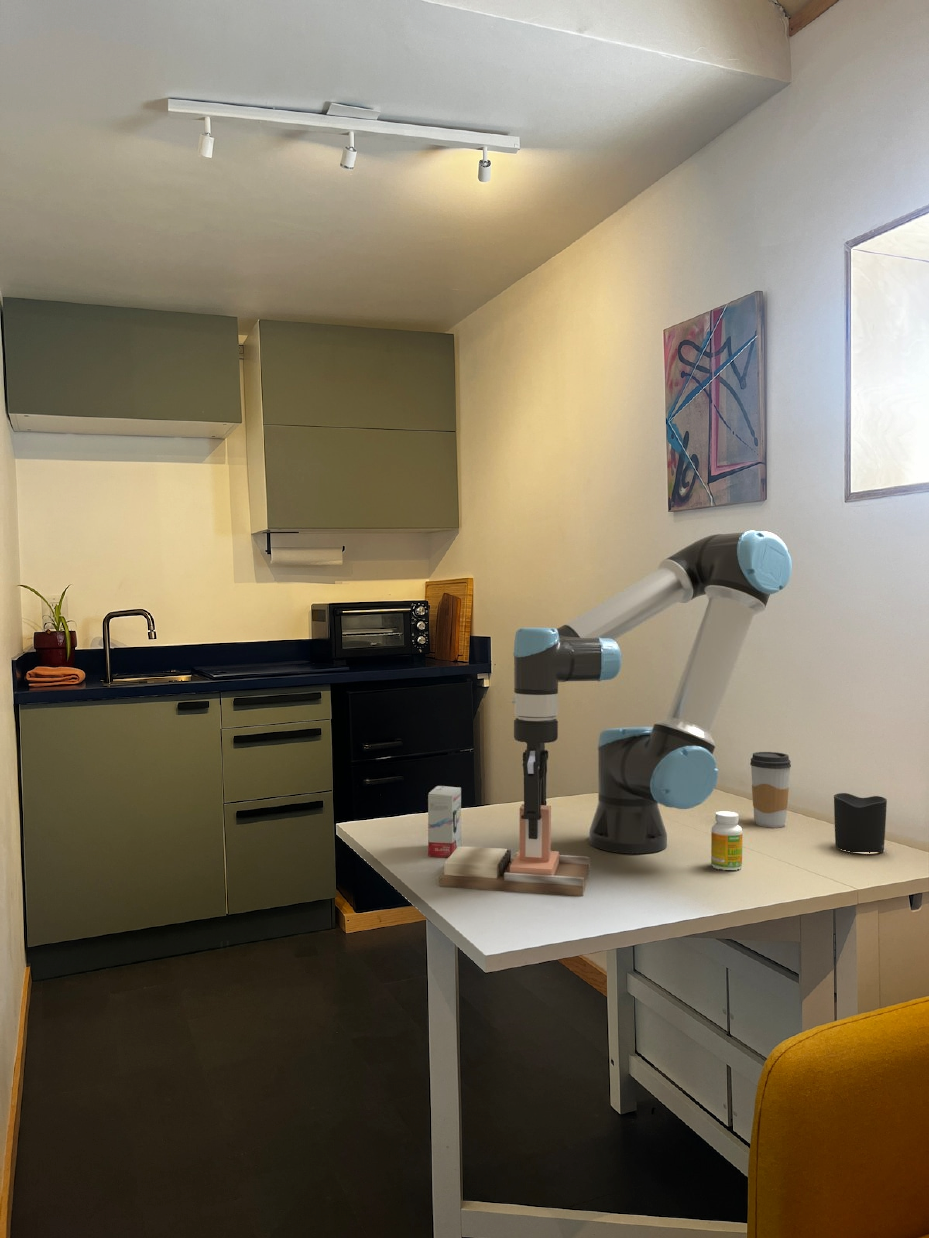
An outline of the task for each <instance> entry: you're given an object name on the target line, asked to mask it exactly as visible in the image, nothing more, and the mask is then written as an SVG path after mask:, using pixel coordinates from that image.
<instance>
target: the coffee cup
mask: <svg viewBox="0 0 929 1238" xmlns="http://www.w3.org/2000/svg"><path fill="white" fill-rule="evenodd" d="M791 762H792V761H791V760H790V757H789V755H788V754H787V753H783V752H778V751H777V752H776V751H757V752H753V753H752V757H750V763H749V764H750V769H751V792H752V807H753V821H754V822H755V825H757V826H759V827H763V828H772V829H774V828H777V829H778V828H779V829H780V828H783V827H785V824H786V823H787V812H788V802H789V801H788V800H789V789H790V787H789V785H790V784H789V783H790V775H791V774H790V773H791V771H790V770H791V767H792V765H791Z"/></svg>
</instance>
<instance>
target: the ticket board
mask: <svg viewBox="0 0 929 1238" xmlns="http://www.w3.org/2000/svg"><path fill="white" fill-rule="evenodd" d="M517 853H518V851H516V853H515V856H516V855H517ZM511 855H512V850H511V849H508V848H499V847H498V848H496V847H479V846H463V845H461V846H458V847H457V848H456V850H455V851H454V852H453V853H452V854H451V856H450V857H447V859H446V860H445V862H444V864H443V865H444V866H443V867H444V868H443V869H444V871H443V872H442V873H441V875H440V876H439V880H438V881H439V884H438V885H439V887H446V888H448V887H450V888H460V889H461V888H463V889H475V890H476V889H477V890H490V891H492V890H493V891H502V892H503V891H505V892H520V893H533V894H534V893H535V894H548V895H560V896H562V895H563V896H575V897H576V896H578V897H583V896H584V892H585V888H586V886H587V881H588V877H589V874H590V856H584V855H583V856H582V855H566V854H559V864H558V866H557V869H556V871H555V874H554V875H538V874H523V873H510V866H511V864H512V862H513V860H514V858H515V857H512V856H511Z"/></svg>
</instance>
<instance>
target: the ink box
mask: <svg viewBox="0 0 929 1238" xmlns="http://www.w3.org/2000/svg"><path fill="white" fill-rule="evenodd" d="M427 797H428V798H427V803H428V804H427V807H428V809H427V810H428V813H427V814H428V815H427V816H428V817H427V820H428V821H427V828H428V830H427V831H428V833H427V834H428V835H427V837H428V838H427V840H428V843H427V844H428V845H427V849H428V852H427V854H428V855H427V856H428V857H434V858H435V857H436V858H437V857H438V858H439V857H440V858H449V857H450V856H451V854H452V853H453V852H454V851H455V850H456V848H457V847H458V846H462V809H461V808H462V788H461V787H460V786H459V787H455V786H447V785H446V786H445V785H437V786H435V787H434V788H433V789H431V790H430V792H428V795H427Z"/></svg>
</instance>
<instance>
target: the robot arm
mask: <svg viewBox="0 0 929 1238" xmlns="http://www.w3.org/2000/svg"><path fill="white" fill-rule="evenodd" d="M788 551H789V549H788V547H787V545H786V544H785V542H784V541H783V540H782V539H781V538H780V537H779V536H778V535H776V534H774V533H772V532H771V531H770V532H769V531H762V530H761V531H760V530H759V531H757V530H747V531H743V532H732V533H719V534H718V533H717V534H712V535H708V536H705V537H703V538H700V539H698V540H696V541H694V542H693V543H691V544H689V545H687V546H686V547H684V548H682V549H680V550H679V551H677V552H676V553H673V554H672V555H671V556H668V557H667V558H665V559H663V560H662V561H661V562H659V564H658V568H657V569H656V570H655V571H653V572H651V573H650V574H648V575H647V576H645V577H643V578H642V579H639V580H638V581H637V582H634V583H633V584H631V585H630V586H628V587H626V588H625V589H623V590H620V591H619V592H618V593H616V594H615V595H612V596H611V597H609V598H608V599H606V600H605V601H602V602H601V603H599V604H597V605H596V606H594V607H592V608H591V609H589V610H587V611H585V612H584V613H582V614H580V615H579V616H577V617H575V618H573V619H572V620H571V621H569V622H567V623H565V624H564V625H562V626H559V627H557V628H555V627H521V628H519V629H517V631H515V634H514V635H515V636H514V641H513V642H514V643H513V652H512V653H513V655H512V656H513V665H514V666H513V668H514V669H513V670H514V672H513V675H514V677H513V679H514V681H513V682H514V684H513V685H514V686H513V687H514V690H513V691H514V695H513V696H514V697H511V699H510V702H511V703H512V704H515V705H514V706H513V707H514V710H513V711H514V713H513V714H514V715H515V716H516V718H515V719H514V720H513V739H514V740H515V741H516V742H520V743H525V744H526V749H525V750H524V751H523V752H522V768H523V771H522V772H523V804H524V815H521V819H526V850H525V857H537V858H541V857H542V819H540V818H541V805H547V804H548V803H547V772H548V760H549V751H548V749H546V748H545V747H546V745H545V744H549V743H554V742H556V741H557V740H558V738H559V737H558V735H559V733H558V732H559V721H558V719H556V717H557V716H558V715H559V683H566V682H595V681H597V682H601V681H609V680H613V679H615V678H616V677H617V676H618V674H619V673H620V671H621V668H622V652H621V647H620V646H619V644H618V643H617V642H616V640H617V639H619V638H621V637H623V636H624V635H626V634H628V633H629V632H630V631H633V630H634V629H635V628H638V627H639V626H641V625H642V624H644V623H645V622H646V623H647V621H649V620H650V619H652V618H654V617H655V616H657V615H659V614H660V613H662V612H664V611H666V610H667V609H669V608H671V607H672V606H673V605H676V604H677V603H680V604H686V603H689V602H690V601H692V600H693V599H696V598H698V597H701V596H704V595H706V597H707V599H708V603H707V605H706V608H705V610H704V613H703V616H702V618H701V621H700V624H699V626H698V629H697V632H696V635H695V638H694V640H693V643H692V645H691V649H690V651H689V653H688V656H687V660H686V662H685V665H684V668H683V670H682V672H681V674H680V677H679V678H680V679H679V680H678V684H677V686H676V689H675V691H674V694H673V696H672V700H671V702H670V704H669V708H668V710H667V713H666V716H665V717H664V718H663V719H660V720H658V721H656V722H654V724H653V726H633V727H632V726H631V727H629V726H627V727H615V728H605V729H603V730H602V731H601V732H600V733H599V736H598V745H597V751H598V761H597V762H598V763H597V764H598V774H597V776H598V796H597V797H598V801H597V806H596V810H595V813H594V816H593V819H592V822H591V824H590V828H589V832H588V842H589V844H590V845H591V846H593V847H594V848H596V849H599V850H603V851H608V852H613V853H621V854H650V853H655V852H659V851H663V850H665V849H666V848H667V847H668V835H667V830H666V827H665V823H664V821H663V817H662V815H661V811H660V808H659V805H662V806H664V807H665V808H670V809H671V808H673V809H678V810H689V809H693V808H695V807H697V806H700V805H701V804H703V803H704V802H705V801H706V800H708V798H710V796H711V794H712V793H713V792H714V790H715V788H716V785H717V782H718V777H719V769H718V768H717V765H718V764H717V760H716V758H715V756H714V755H713V754H714V752H715V749H716V743H715V741H714V739H713V737H712V732H713V730H714V729H713V728H714V727H715V723H716V720H717V717H718V714H719V712H720V710H721V707H722V704H723V700H724V698H725V696H726V693H727V691H728V690H727V689H728V687H729V684H730V682H731V678H732V676H733V673H734V670H735V668H736V666H737V665H736V664H737V661H738V660H739V656H740V654H741V652H742V648H743V646H744V642H745V640H746V637H747V634H748V631H749V629H750V626H751V624H752V621H753V618H754V616H755V615H757V614H759V613H761V612H764V611H765V610H766V608H767V605H768V602H769V599H770V597H771V595H773V594H776V593H778V592H779V591H781V590H783V589H784V588H785V587H786V586H788V583H789V581H790V578H791V576H792V570H793V569H792V566H793V564H792V563H793V562H792V558H791V554H790V553H789V552H788Z"/></svg>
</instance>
